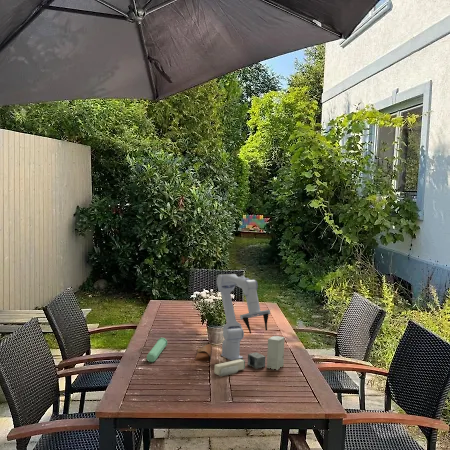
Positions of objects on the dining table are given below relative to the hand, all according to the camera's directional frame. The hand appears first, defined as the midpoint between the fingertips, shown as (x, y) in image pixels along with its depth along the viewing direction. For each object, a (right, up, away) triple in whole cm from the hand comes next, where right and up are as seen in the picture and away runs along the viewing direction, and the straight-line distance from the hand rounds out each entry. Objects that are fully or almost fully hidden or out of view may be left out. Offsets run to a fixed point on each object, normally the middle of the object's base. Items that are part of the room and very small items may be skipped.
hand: (258, 331), depth 229 cm
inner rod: (-14, -20, +3) cm, 24 cm away
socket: (0, -20, +13) cm, 24 cm away
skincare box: (+9, -21, +13) cm, 26 cm away
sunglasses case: (-27, -19, +26) cm, 42 cm away
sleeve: (-15, -20, +2) cm, 25 cm away
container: (-52, -18, +24) cm, 60 cm away
